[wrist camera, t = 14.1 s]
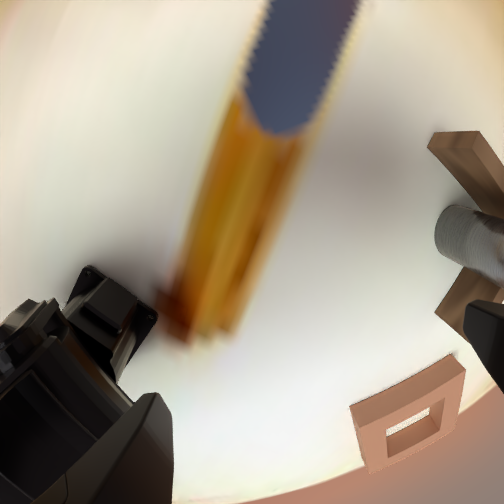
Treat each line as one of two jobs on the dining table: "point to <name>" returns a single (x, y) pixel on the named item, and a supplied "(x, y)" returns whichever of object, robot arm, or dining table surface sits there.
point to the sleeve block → (409, 414)
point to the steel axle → (472, 241)
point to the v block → (489, 201)
